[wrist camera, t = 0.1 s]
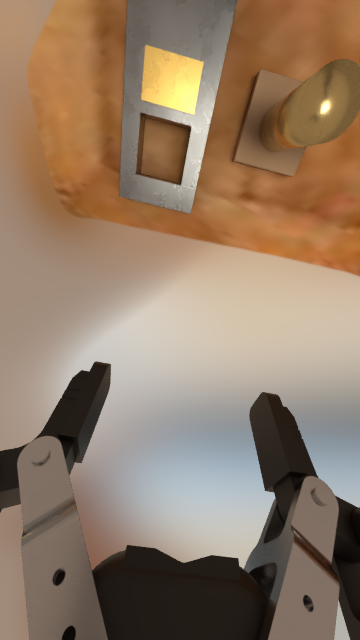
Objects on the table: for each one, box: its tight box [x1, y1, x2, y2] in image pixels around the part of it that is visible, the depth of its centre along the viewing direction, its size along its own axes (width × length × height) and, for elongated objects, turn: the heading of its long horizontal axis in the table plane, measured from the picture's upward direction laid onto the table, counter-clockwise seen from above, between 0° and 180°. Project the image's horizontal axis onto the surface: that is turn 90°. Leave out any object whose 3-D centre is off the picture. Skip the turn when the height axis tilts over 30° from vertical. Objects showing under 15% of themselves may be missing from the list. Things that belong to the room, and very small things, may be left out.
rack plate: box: [119, 0, 237, 214], centre depth 26 cm, size 20×10×3 cm, turn 168°
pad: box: [232, 69, 306, 176], centre depth 26 cm, size 8×8×2 cm
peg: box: [259, 59, 360, 152], centre depth 21 cm, size 4×4×12 cm
